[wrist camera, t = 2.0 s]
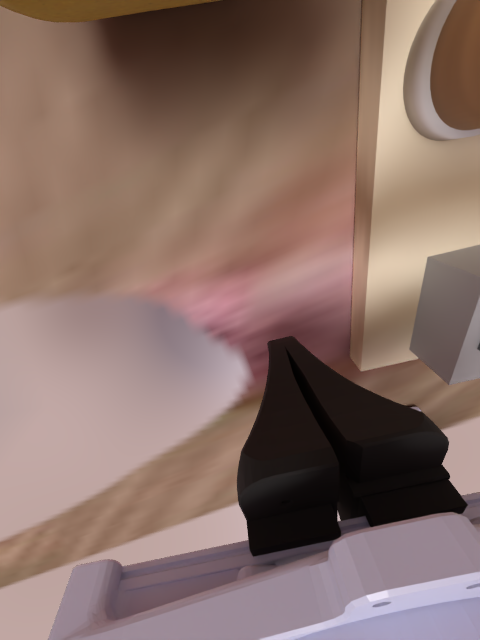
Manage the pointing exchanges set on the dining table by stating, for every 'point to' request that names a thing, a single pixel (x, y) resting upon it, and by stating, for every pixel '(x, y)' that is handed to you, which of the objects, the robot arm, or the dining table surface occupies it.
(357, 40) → the dining table surface
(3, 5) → the flower pot
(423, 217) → the board
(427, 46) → the brown cylinder
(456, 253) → the box
